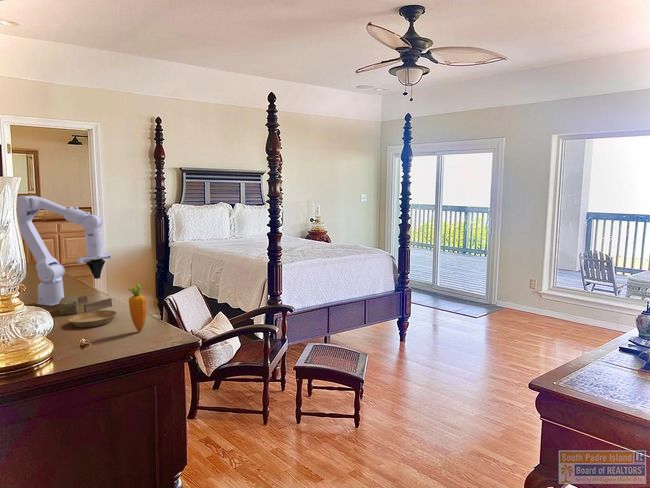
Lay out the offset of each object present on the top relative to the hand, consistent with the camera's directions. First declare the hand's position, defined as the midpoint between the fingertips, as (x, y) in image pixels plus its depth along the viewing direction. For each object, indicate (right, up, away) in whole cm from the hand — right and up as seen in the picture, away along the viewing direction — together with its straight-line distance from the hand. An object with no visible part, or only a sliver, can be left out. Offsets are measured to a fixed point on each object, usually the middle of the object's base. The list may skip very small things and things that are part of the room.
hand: (97, 278), depth 191 cm
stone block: (-3, -12, -15) cm, 19 cm away
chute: (0, -11, -10) cm, 14 cm away
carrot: (+34, -14, -44) cm, 58 cm away
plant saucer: (+14, -13, -31) cm, 37 cm away
